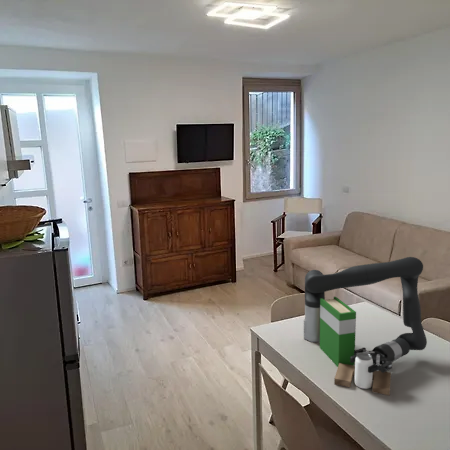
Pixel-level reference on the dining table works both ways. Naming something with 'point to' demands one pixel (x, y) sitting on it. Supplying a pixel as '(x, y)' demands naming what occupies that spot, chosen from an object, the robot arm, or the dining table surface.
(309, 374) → the dining table surface
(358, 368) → the can
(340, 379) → the notched board
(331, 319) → the hardback book
